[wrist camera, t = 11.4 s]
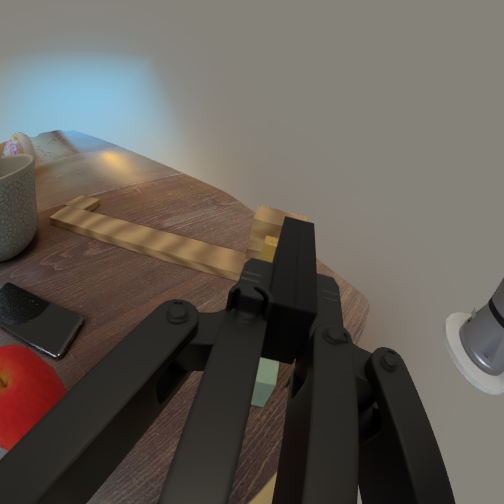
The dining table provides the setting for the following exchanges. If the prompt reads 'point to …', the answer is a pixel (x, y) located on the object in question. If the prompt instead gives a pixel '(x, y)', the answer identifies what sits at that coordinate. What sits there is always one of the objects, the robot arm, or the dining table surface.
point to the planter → (17, 204)
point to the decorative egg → (19, 145)
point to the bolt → (269, 249)
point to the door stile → (265, 381)
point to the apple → (24, 392)
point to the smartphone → (37, 320)
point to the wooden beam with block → (170, 237)
